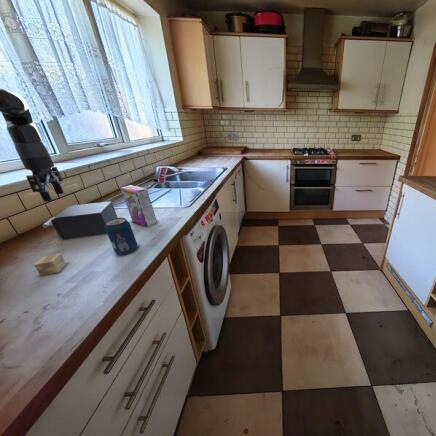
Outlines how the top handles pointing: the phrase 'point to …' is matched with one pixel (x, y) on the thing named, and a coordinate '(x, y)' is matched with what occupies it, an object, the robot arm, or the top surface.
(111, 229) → the soda can
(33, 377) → the top surface
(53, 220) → the dark grey drawer
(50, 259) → the block
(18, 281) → the top surface
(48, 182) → the robot arm
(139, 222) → the candy bar box
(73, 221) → the low dark rectangular box
